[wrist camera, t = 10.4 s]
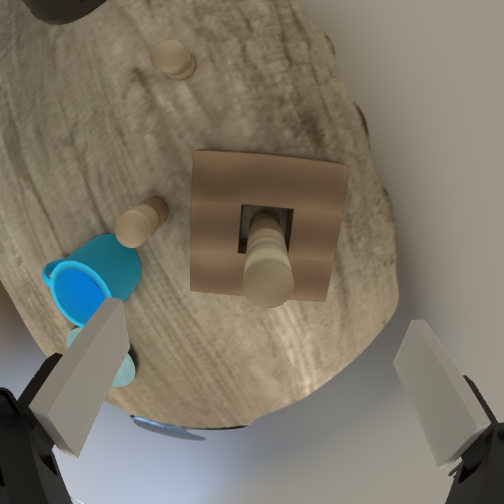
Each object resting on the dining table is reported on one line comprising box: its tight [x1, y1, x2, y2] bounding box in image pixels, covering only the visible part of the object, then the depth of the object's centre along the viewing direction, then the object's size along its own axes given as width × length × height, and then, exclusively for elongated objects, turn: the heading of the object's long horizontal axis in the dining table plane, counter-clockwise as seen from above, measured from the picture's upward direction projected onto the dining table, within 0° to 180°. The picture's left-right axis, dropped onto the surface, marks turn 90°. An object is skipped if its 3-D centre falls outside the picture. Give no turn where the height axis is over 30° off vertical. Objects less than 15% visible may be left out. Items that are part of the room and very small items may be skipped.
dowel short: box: [150, 39, 196, 80], centre depth 23 cm, size 3×3×5 cm
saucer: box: [66, 327, 135, 387], centre depth 38 cm, size 12×12×2 cm
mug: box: [42, 234, 141, 328], centre depth 30 cm, size 12×8×8 cm
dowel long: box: [243, 209, 294, 308], centre depth 25 cm, size 3×3×14 cm
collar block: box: [190, 149, 349, 302], centre depth 29 cm, size 14×14×4 cm
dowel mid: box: [114, 197, 168, 248], centre depth 28 cm, size 3×3×7 cm
